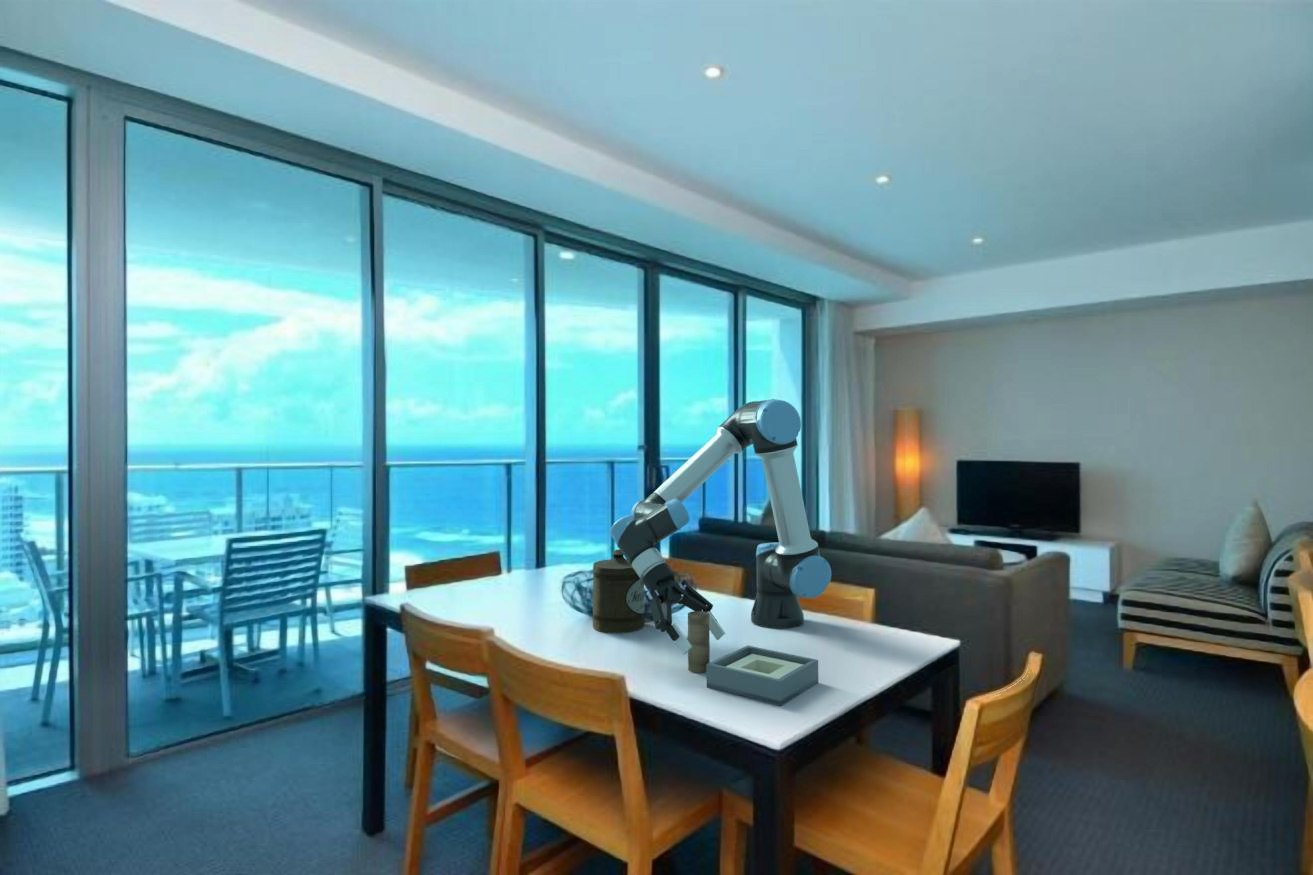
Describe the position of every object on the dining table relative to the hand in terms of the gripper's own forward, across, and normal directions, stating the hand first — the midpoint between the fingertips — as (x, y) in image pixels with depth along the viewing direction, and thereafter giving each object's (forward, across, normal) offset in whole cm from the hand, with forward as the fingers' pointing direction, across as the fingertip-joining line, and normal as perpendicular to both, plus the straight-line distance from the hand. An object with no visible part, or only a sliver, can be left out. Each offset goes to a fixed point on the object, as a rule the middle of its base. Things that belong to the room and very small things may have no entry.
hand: (705, 643), depth 165 cm
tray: (+15, 0, +6) cm, 16 cm away
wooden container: (-25, -17, -34) cm, 46 cm away
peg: (+3, 0, -6) cm, 7 cm away
